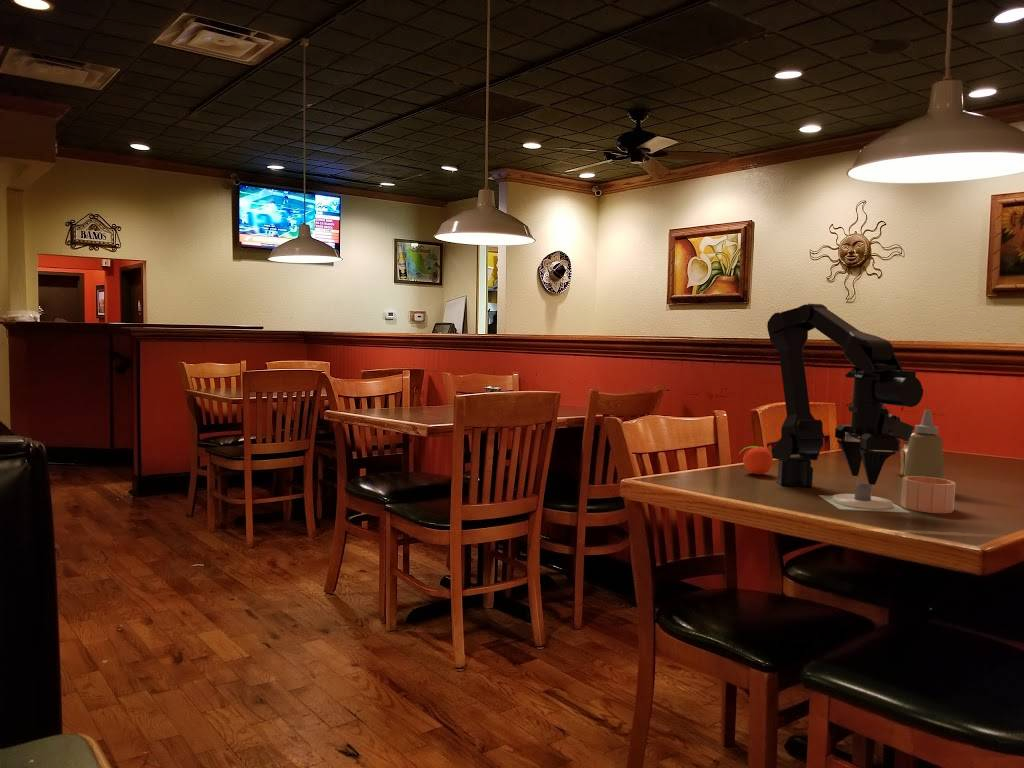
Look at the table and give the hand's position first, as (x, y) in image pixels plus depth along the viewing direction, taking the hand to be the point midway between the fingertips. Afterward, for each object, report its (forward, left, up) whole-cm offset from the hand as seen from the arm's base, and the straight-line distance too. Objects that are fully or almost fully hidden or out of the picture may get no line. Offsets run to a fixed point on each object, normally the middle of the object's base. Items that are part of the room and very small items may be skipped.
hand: (863, 480), depth 154 cm
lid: (0, 0, -5) cm, 5 cm away
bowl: (+12, -1, -5) cm, 13 cm away
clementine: (-13, +33, -6) cm, 36 cm away
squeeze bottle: (+22, +23, -6) cm, 32 cm away
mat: (0, 0, -5) cm, 5 cm away
